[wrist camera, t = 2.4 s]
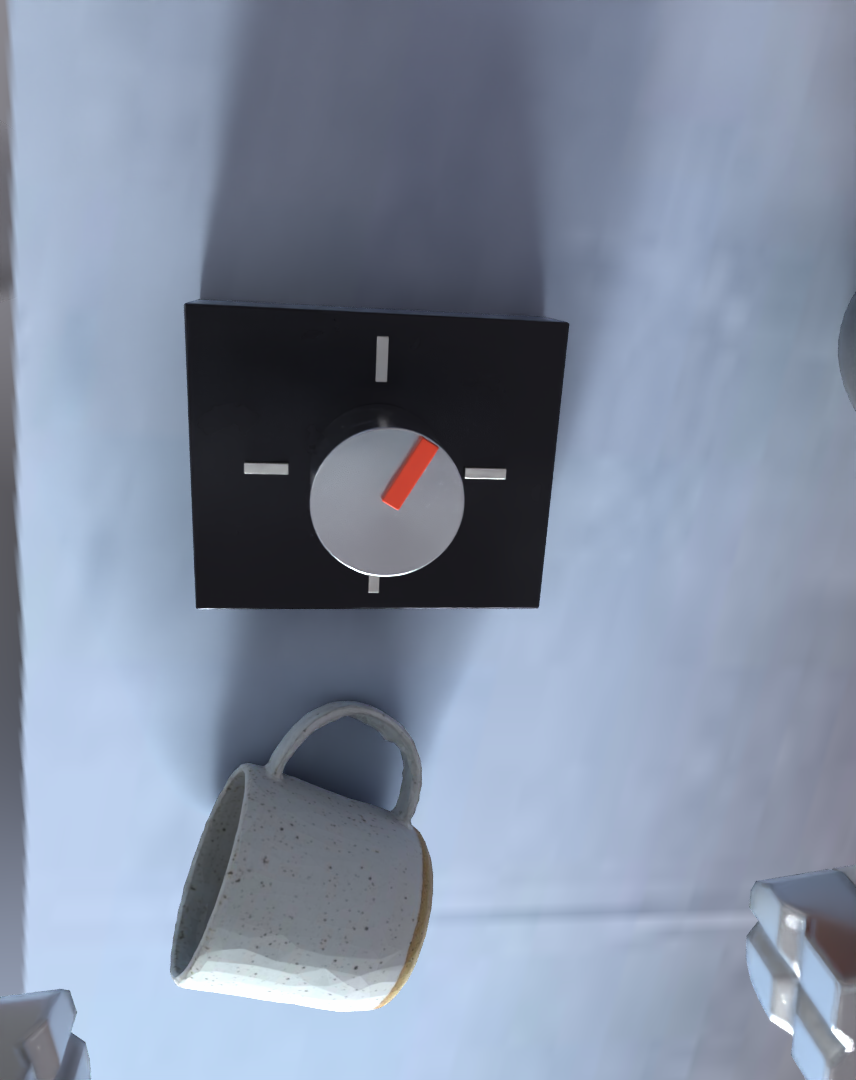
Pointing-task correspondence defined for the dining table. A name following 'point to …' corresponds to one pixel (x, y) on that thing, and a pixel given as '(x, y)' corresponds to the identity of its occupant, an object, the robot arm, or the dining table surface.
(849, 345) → the bowl
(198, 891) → the ceramic mug
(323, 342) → the black dial plate
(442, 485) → the silver dial knob
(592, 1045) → the dining table surface
